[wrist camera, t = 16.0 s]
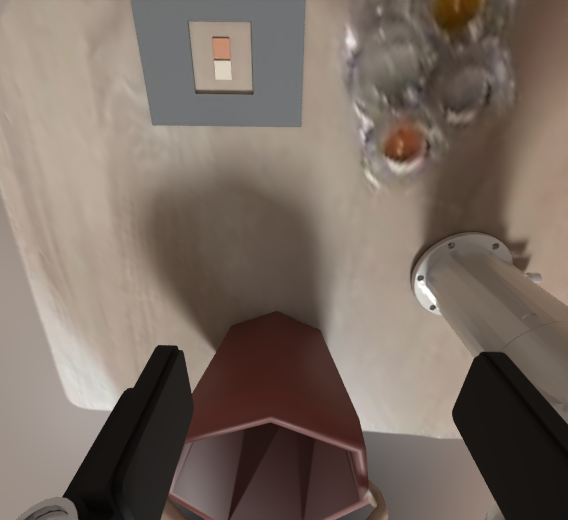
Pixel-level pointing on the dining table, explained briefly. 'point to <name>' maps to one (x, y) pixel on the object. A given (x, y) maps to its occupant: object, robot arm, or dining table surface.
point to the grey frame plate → (222, 62)
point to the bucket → (273, 432)
